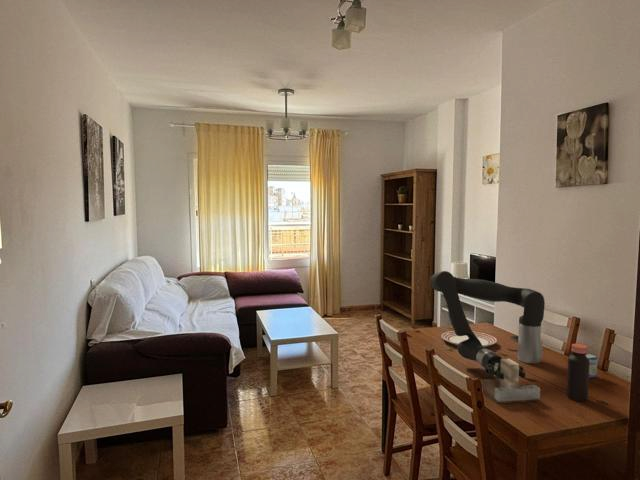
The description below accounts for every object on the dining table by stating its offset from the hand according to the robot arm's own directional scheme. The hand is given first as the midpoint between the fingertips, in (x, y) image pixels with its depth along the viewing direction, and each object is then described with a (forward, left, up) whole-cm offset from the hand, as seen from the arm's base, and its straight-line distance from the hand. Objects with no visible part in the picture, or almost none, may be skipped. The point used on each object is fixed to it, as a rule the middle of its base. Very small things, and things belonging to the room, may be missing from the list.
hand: (513, 376), depth 151 cm
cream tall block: (0, -2, -7) cm, 8 cm away
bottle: (-24, +3, -9) cm, 26 cm away
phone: (-46, -60, -9) cm, 76 cm away
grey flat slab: (0, -6, -8) cm, 11 cm away
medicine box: (-43, -15, -9) cm, 46 cm away
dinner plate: (-16, -63, -9) cm, 66 cm away
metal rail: (0, +2, -7) cm, 8 cm away
